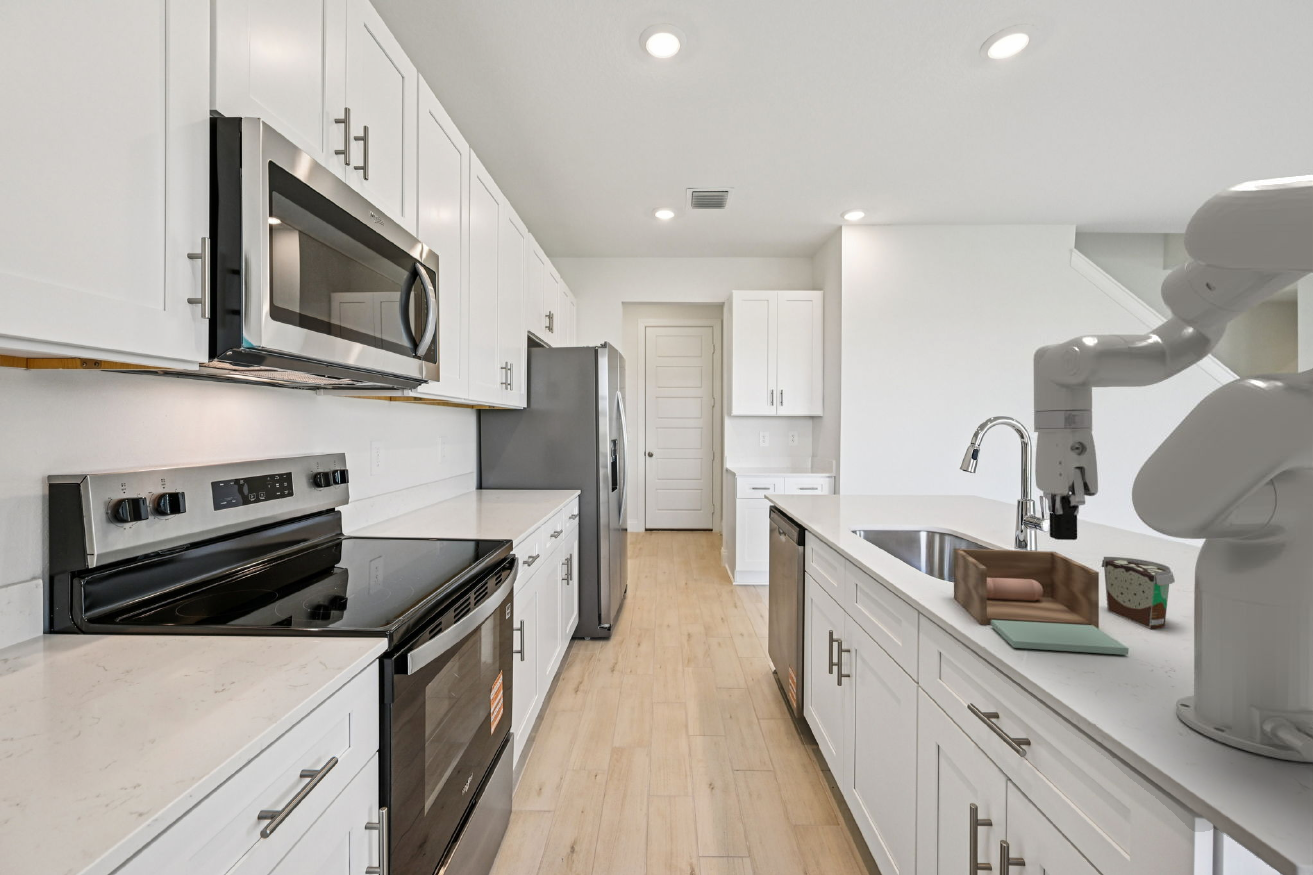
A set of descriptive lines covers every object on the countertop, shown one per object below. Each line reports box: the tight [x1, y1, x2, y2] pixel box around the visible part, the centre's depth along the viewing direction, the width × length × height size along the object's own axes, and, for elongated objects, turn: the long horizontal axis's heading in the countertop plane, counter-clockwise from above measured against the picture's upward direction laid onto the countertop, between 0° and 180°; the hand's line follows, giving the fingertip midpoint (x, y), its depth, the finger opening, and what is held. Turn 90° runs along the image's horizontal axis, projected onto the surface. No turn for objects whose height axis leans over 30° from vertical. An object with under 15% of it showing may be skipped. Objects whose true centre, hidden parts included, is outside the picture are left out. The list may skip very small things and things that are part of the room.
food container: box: [1101, 556, 1176, 630], centre depth 101 cm, size 12×6×10 cm, turn 179°
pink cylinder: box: [987, 578, 1043, 601], centre depth 110 cm, size 4×11×4 cm, turn 77°
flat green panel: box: [990, 620, 1130, 656], centre depth 92 cm, size 1×15×10 cm
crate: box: [953, 547, 1100, 630], centre depth 105 cm, size 16×18×10 cm
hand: (1063, 538), depth 90 cm, fingers closed
